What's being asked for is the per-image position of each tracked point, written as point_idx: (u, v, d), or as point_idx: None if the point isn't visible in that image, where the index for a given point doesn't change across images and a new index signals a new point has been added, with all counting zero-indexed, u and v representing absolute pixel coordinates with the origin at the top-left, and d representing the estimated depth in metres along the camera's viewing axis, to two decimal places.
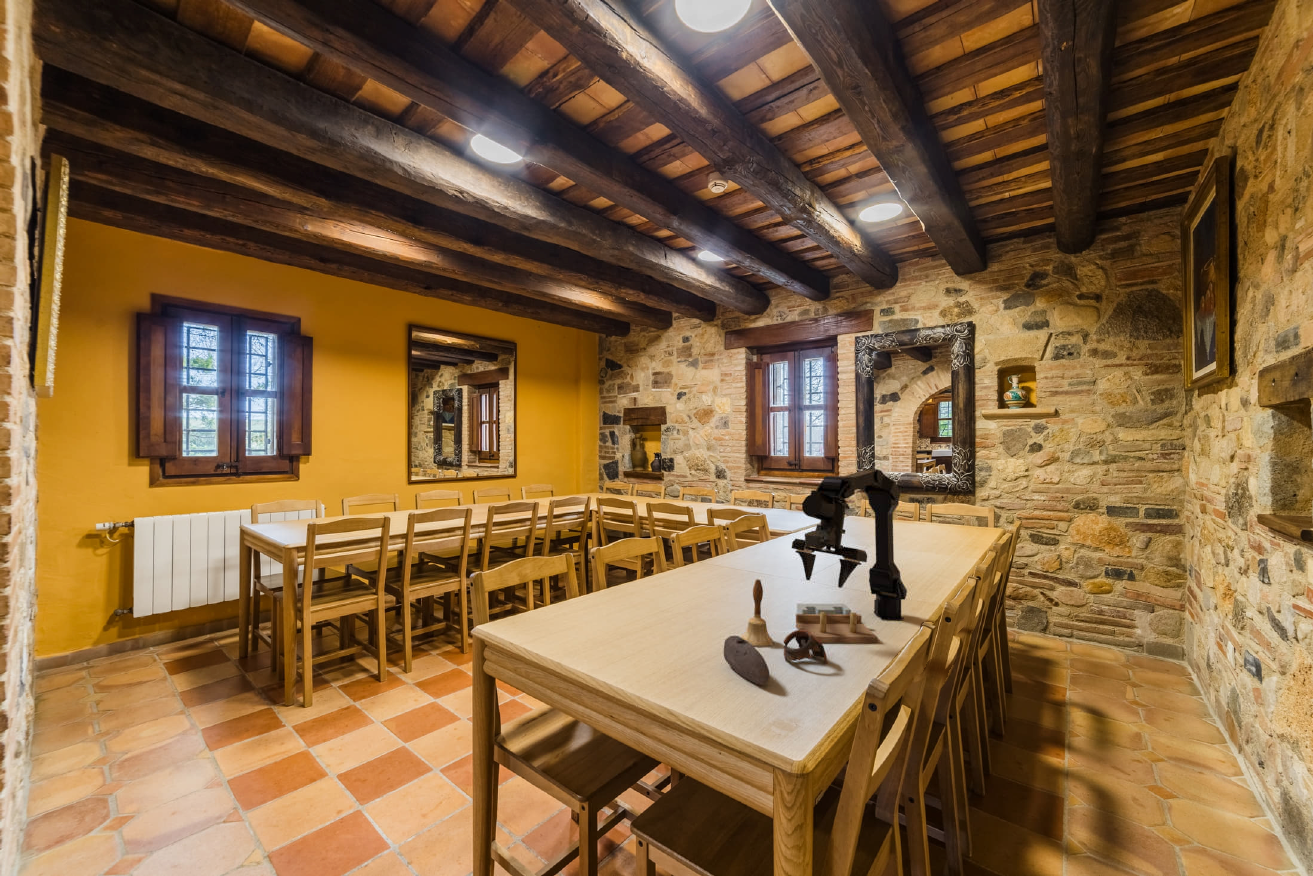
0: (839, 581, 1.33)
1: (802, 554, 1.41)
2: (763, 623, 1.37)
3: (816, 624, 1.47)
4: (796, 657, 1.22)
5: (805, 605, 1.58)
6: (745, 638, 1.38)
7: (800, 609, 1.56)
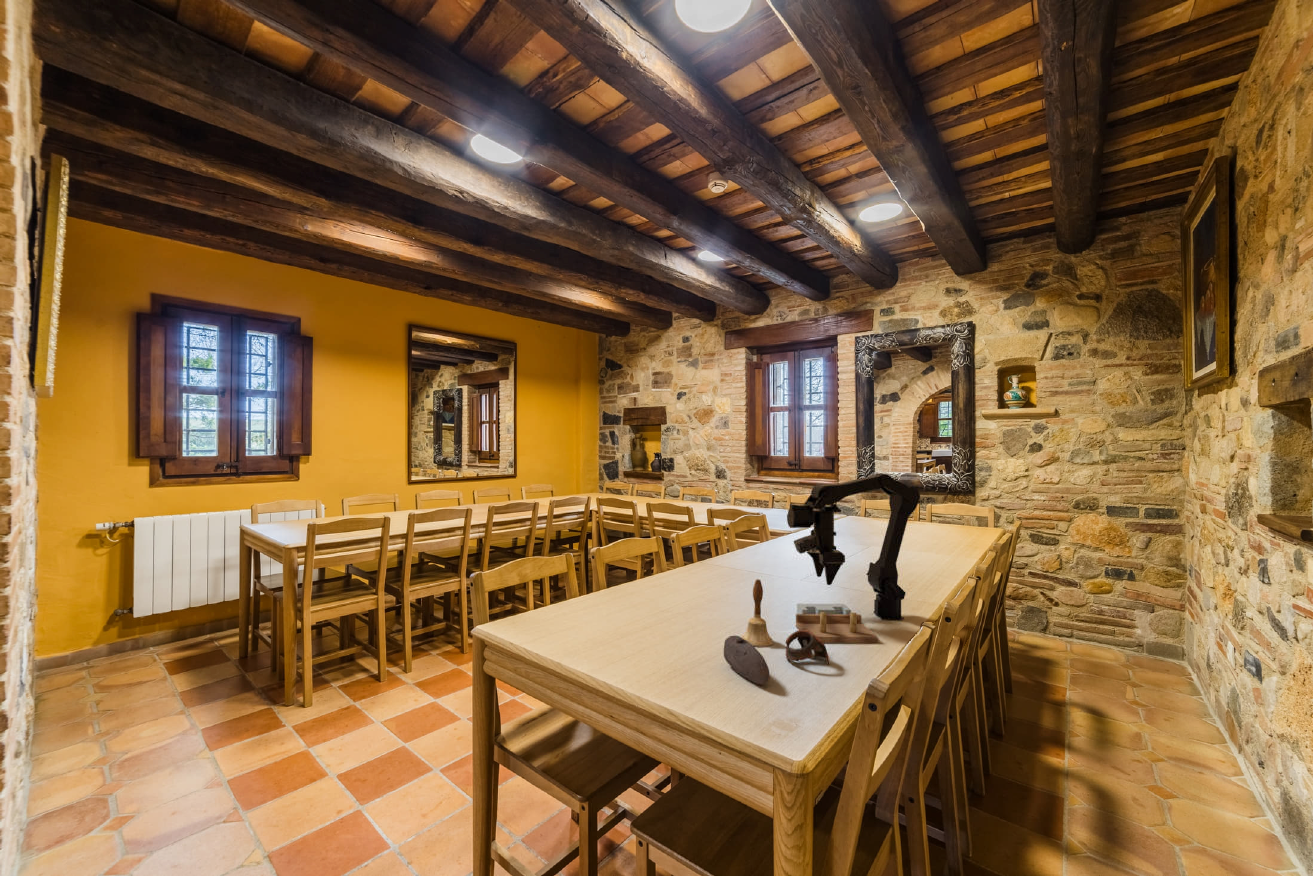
0: (826, 579, 1.52)
1: None
2: (763, 623, 1.37)
3: (816, 624, 1.47)
4: (798, 657, 1.22)
5: (805, 605, 1.58)
6: (745, 638, 1.38)
7: (800, 609, 1.56)
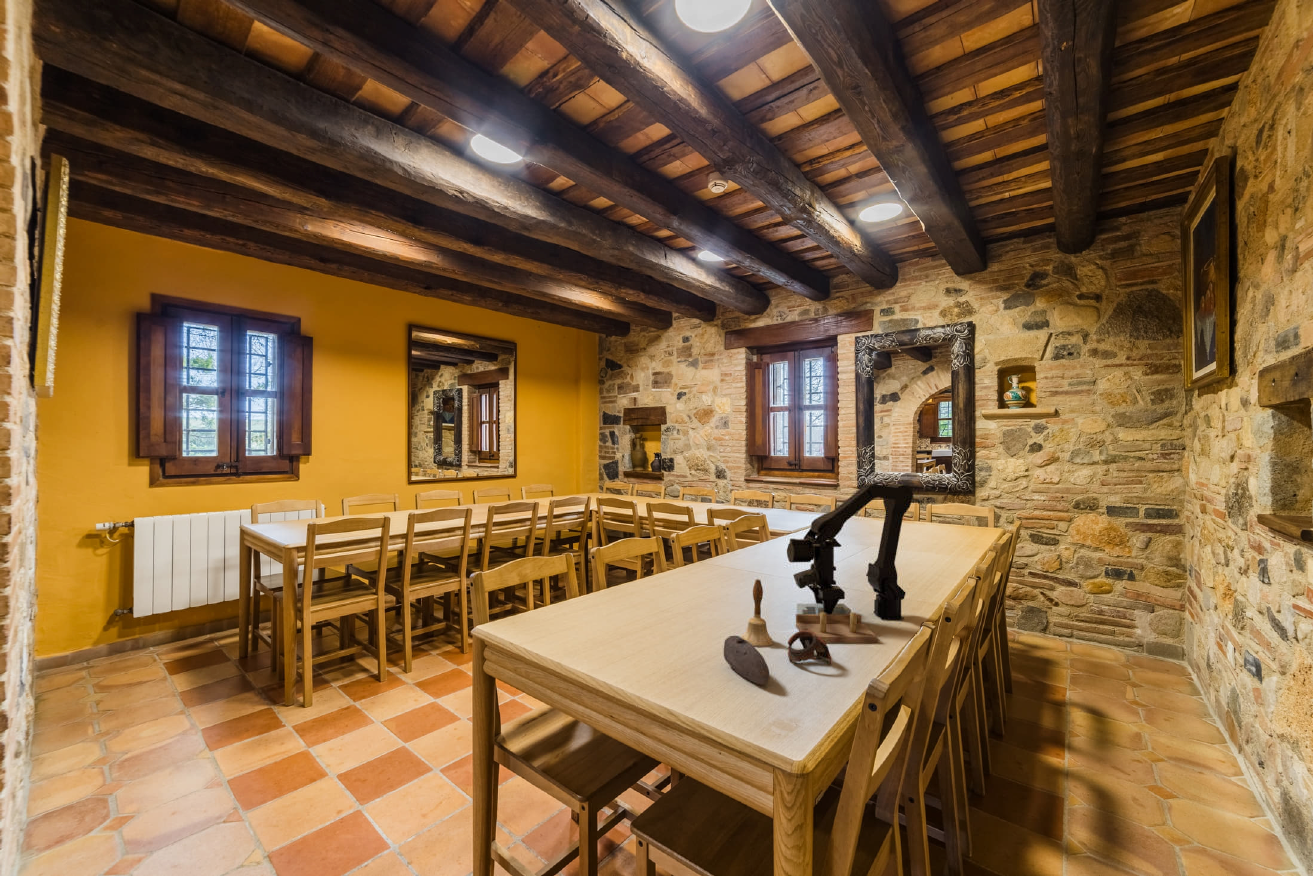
0: None
1: None
2: (763, 623, 1.37)
3: (816, 624, 1.47)
4: (801, 658, 1.22)
5: (805, 605, 1.58)
6: (745, 638, 1.38)
7: (800, 609, 1.56)
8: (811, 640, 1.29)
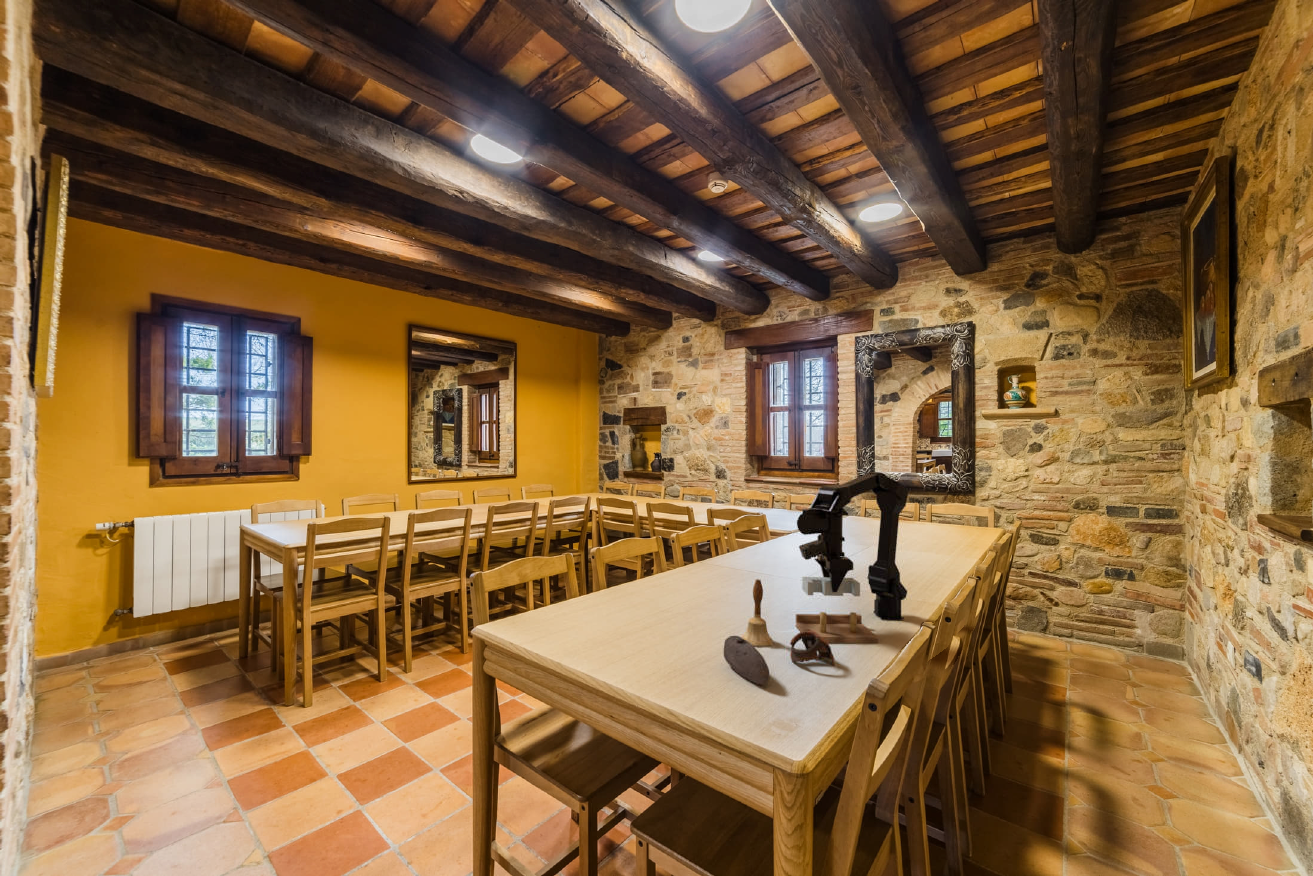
0: (831, 586, 1.44)
1: (817, 562, 1.52)
2: (763, 623, 1.37)
3: (816, 624, 1.47)
4: (803, 658, 1.21)
5: (811, 578, 1.49)
6: (745, 638, 1.38)
7: (805, 582, 1.47)
8: (813, 640, 1.28)
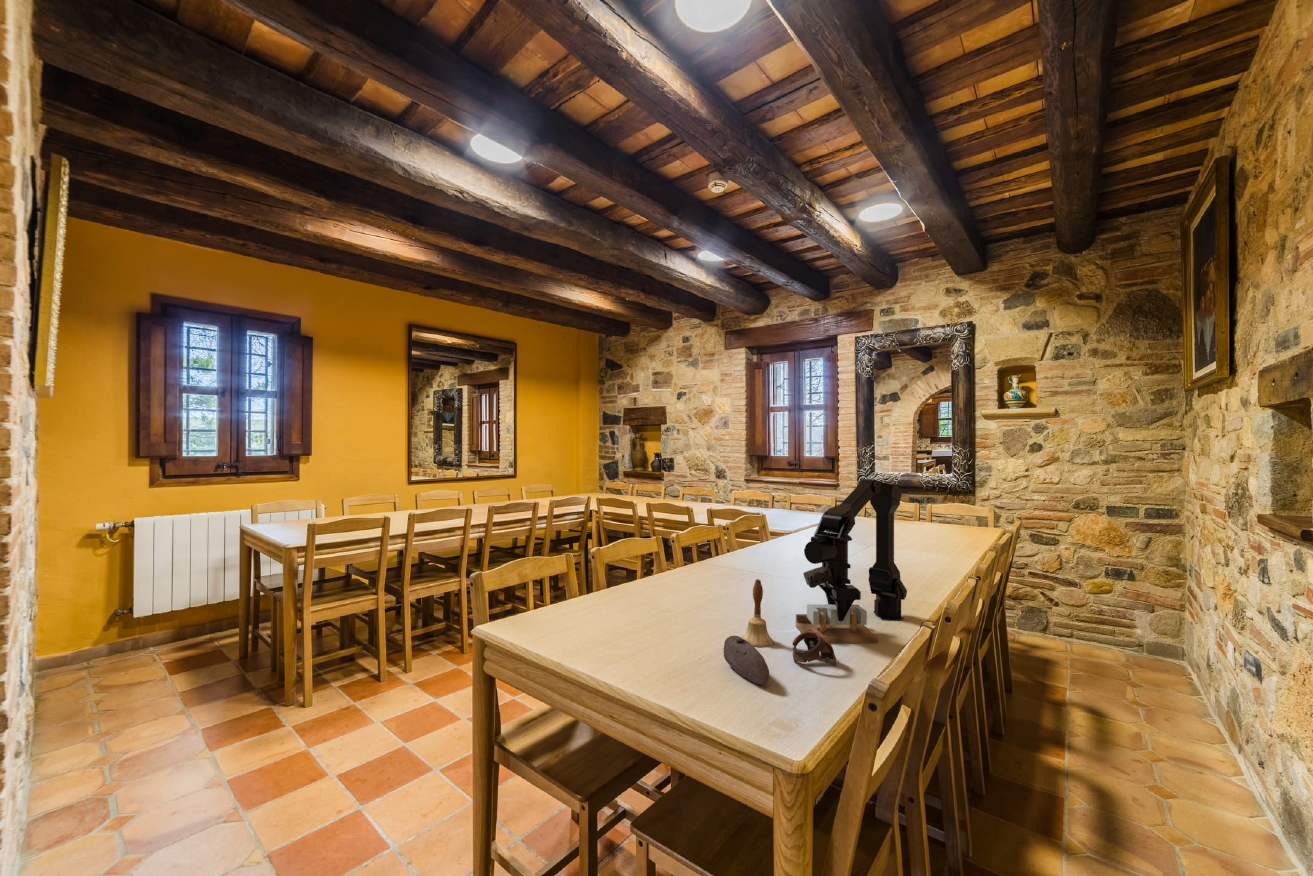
0: None
1: (822, 589, 1.47)
2: (763, 623, 1.37)
3: None
4: (806, 659, 1.21)
5: (816, 606, 1.44)
6: (745, 638, 1.38)
7: (811, 611, 1.42)
8: (816, 641, 1.28)
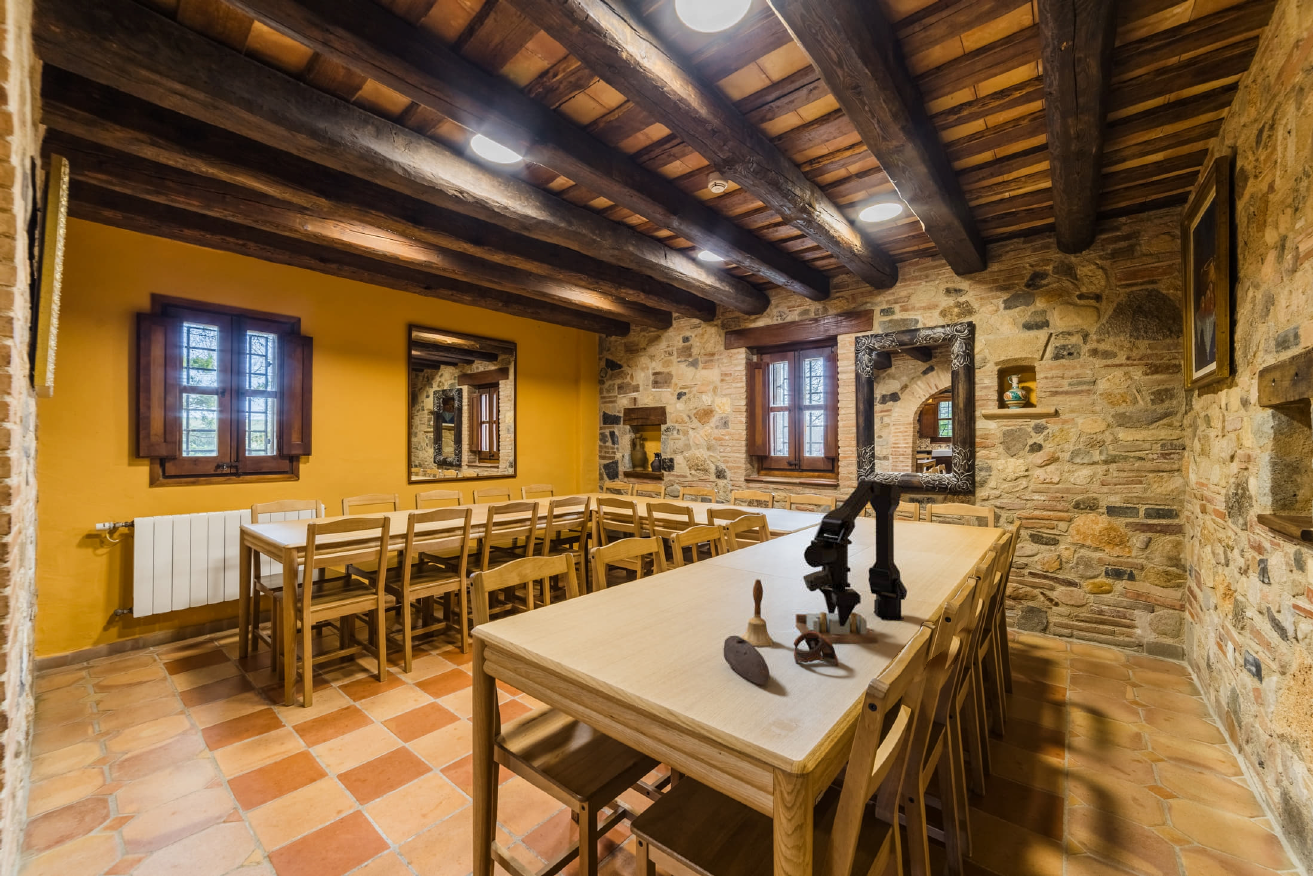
0: (839, 620, 1.39)
1: (821, 591, 1.48)
2: (763, 623, 1.37)
3: None
4: (807, 659, 1.21)
5: (816, 615, 1.44)
6: (745, 638, 1.38)
7: (810, 620, 1.42)
8: (817, 641, 1.28)
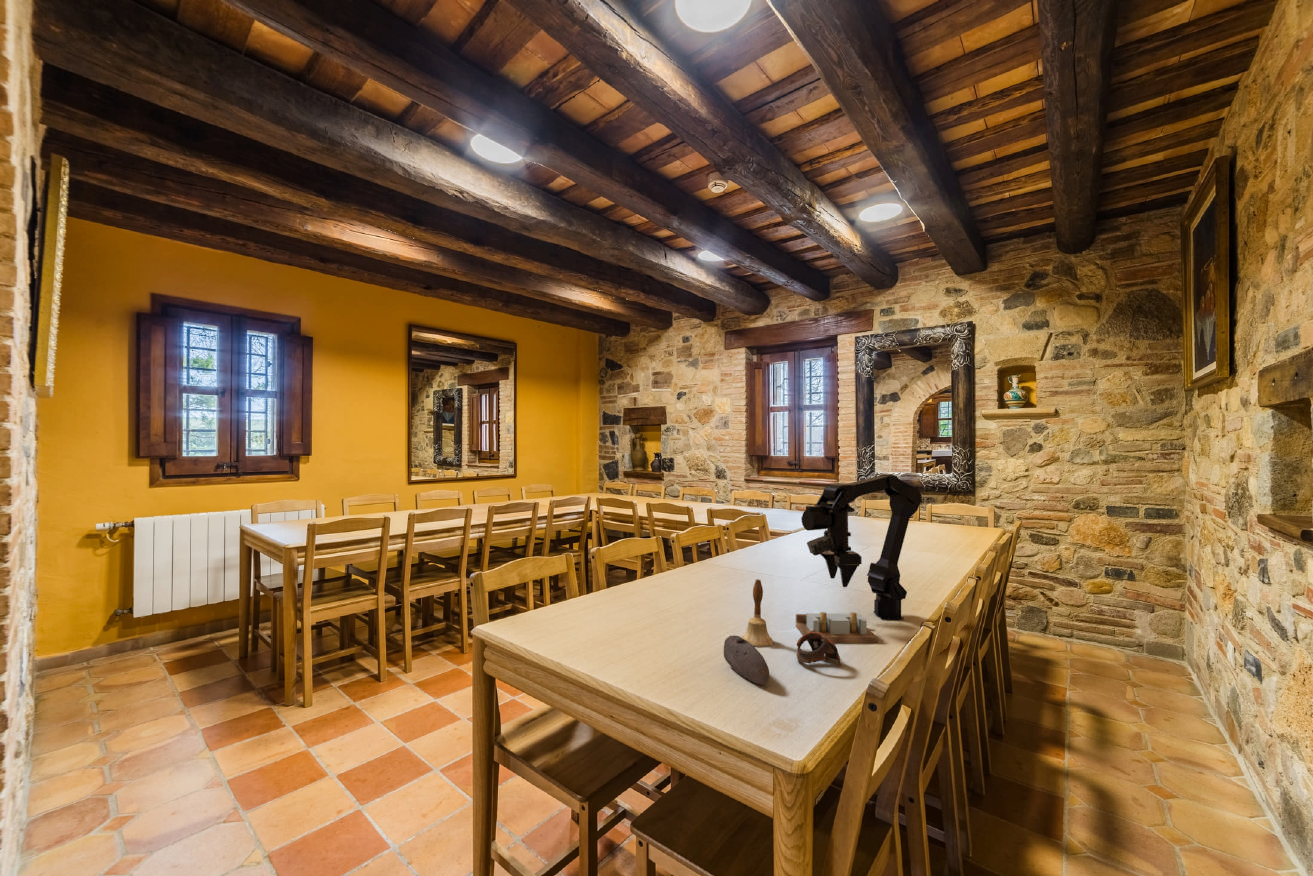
0: (842, 581, 1.48)
1: (822, 556, 1.59)
2: (763, 623, 1.37)
3: None
4: (810, 660, 1.21)
5: (816, 615, 1.44)
6: (745, 638, 1.38)
7: (810, 620, 1.42)
8: (819, 641, 1.28)
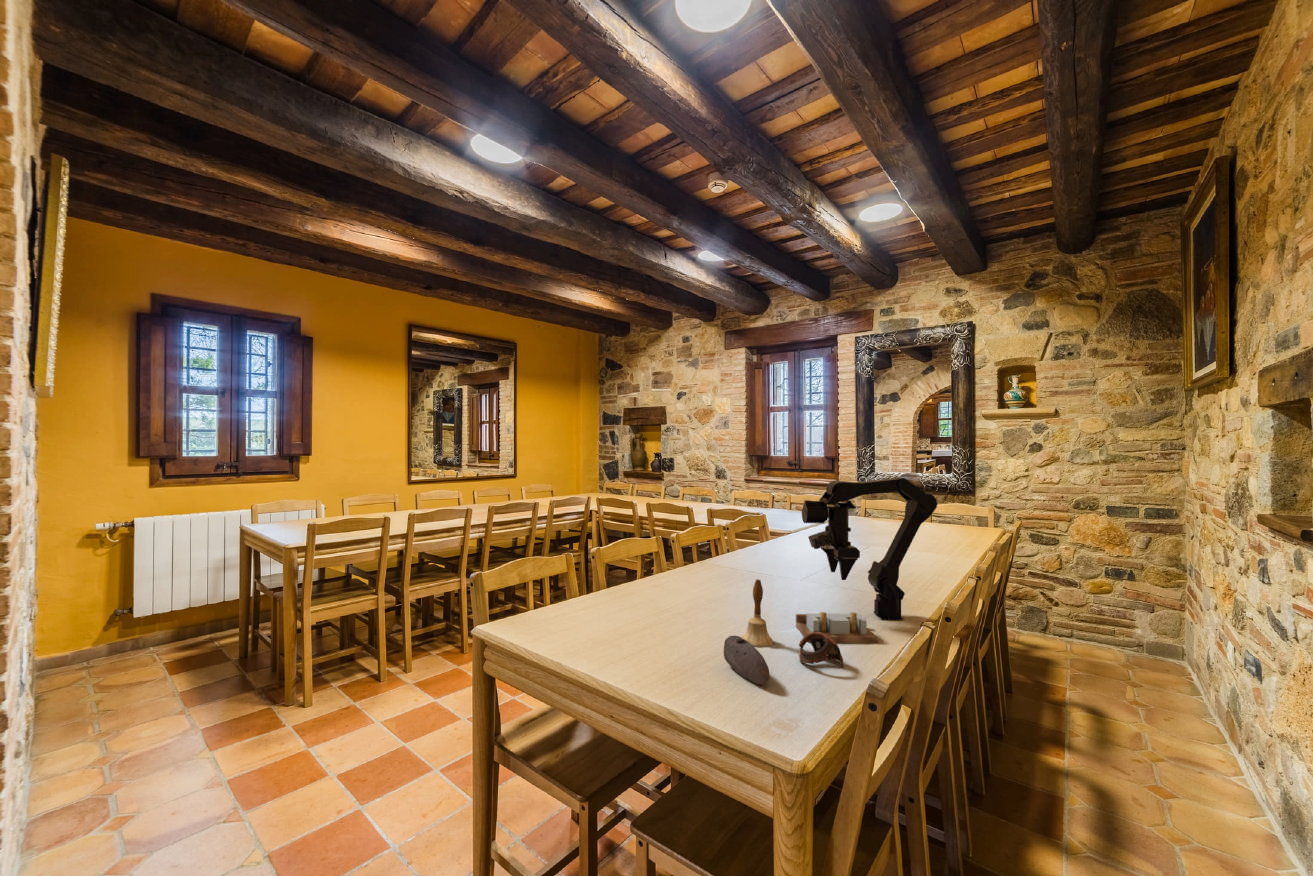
0: None
1: (823, 550, 1.65)
2: (763, 623, 1.37)
3: None
4: (813, 660, 1.20)
5: (816, 615, 1.44)
6: (745, 638, 1.38)
7: (810, 620, 1.42)
8: (822, 642, 1.28)
